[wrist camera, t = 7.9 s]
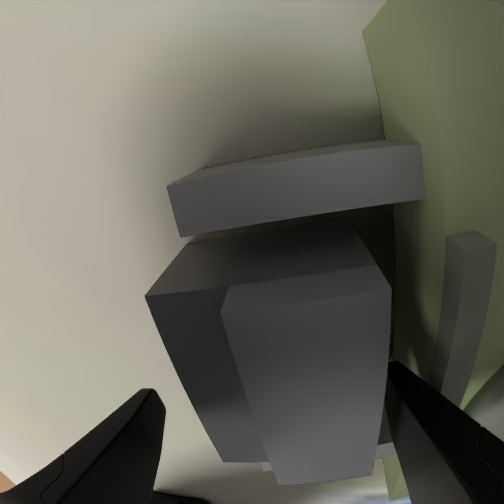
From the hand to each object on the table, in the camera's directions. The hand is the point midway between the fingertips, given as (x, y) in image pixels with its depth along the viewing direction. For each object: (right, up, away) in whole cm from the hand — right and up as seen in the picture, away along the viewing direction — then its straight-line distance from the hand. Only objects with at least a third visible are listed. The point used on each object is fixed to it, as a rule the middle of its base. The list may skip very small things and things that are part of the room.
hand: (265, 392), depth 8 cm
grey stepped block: (+1, +1, +3) cm, 3 cm away
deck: (+6, +2, +2) cm, 7 cm away
